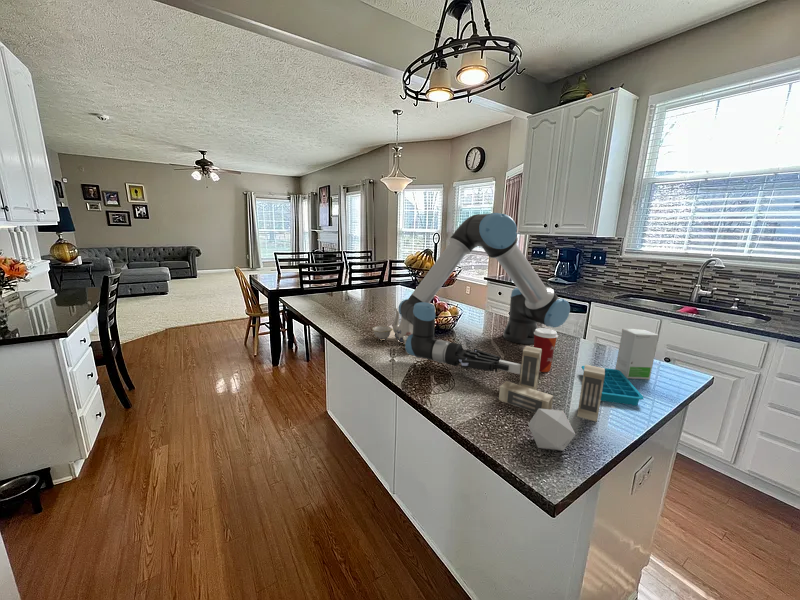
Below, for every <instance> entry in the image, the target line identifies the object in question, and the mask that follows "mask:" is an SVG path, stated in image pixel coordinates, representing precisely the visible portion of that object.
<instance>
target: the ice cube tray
mask: <svg viewBox="0 0 800 600" xmlns="http://www.w3.org/2000/svg"><path fill="white" fill-rule="evenodd" d="M584 367H585V365H581V369H582V370H583V372H584ZM604 368H605V367H604ZM640 400H642V401H643V400H644V396H643V394H642V393H641V392H640V391H639V390H638V389H637V388H636V387H635V386H634V384H632V382H631V381H630V379H629V378H626V377H625V376H624V374H623V373H622V372H621V371H619V370H616V369H615V368H605V377H604V383H603V389H602V395H601V401H603V402H610V403H615V404H616V403H617V404H622V403H624V404H623V405H629V404H632V405H631V406H638V404H639V401H640Z"/></svg>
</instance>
